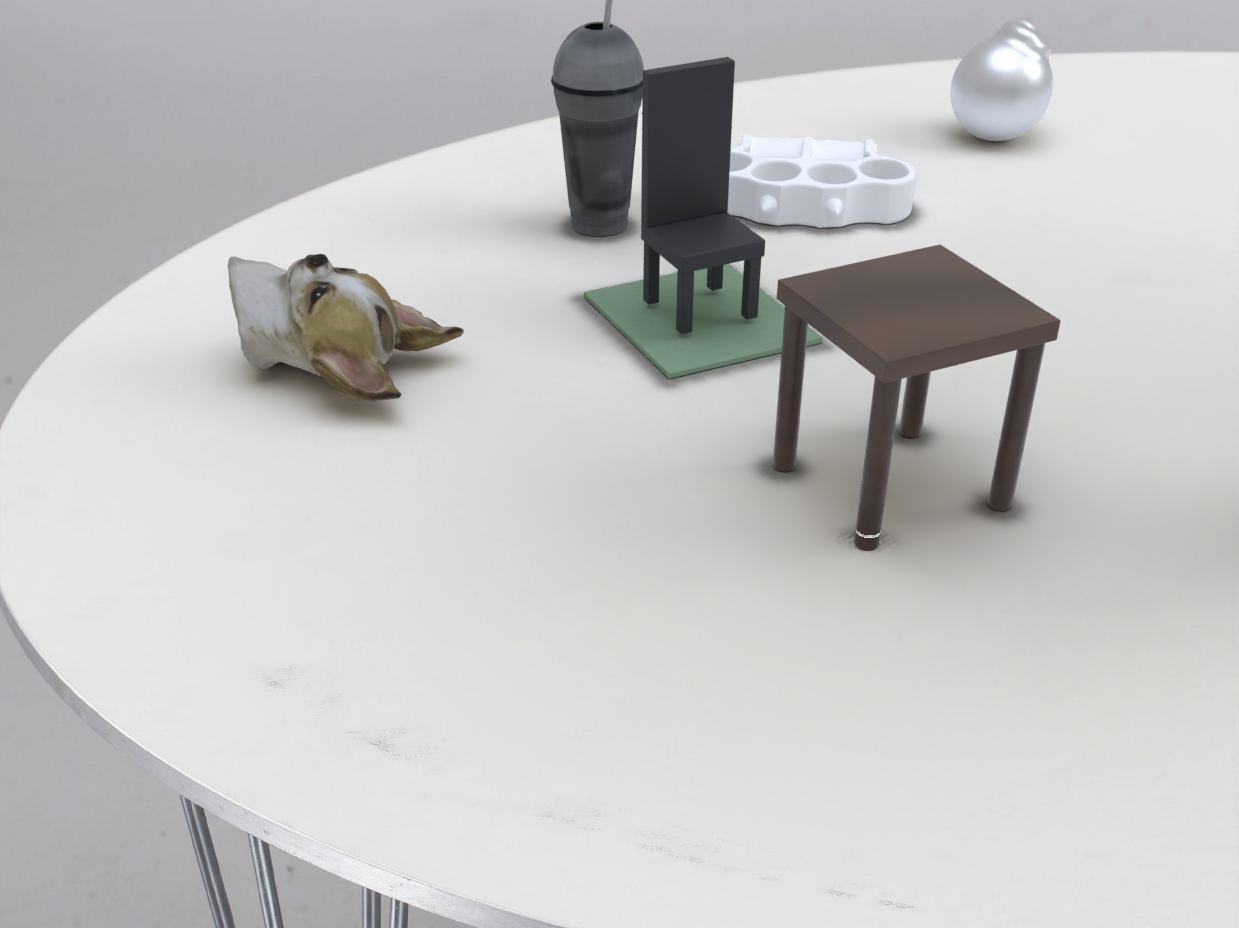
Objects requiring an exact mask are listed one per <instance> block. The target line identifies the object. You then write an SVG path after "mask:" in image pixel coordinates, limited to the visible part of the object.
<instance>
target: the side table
mask: <svg viewBox="0 0 1239 928" xmlns="http://www.w3.org/2000/svg"><path fill="white" fill-rule="evenodd" d="M776 287H777V288H776V300H777V301H779V302H780V303H781V304H782V305H784V308H785V313H784V325H783V338H782V351H781V352H780V354H781V355H780V364H779V365H780V367H779V378H778V391H777V403H776V414H775V415H776V416H775V429H774V440H773V441H774V443H773V452H772V453H773V456H772V468H774V470H776V471H779V472H783V473H784V472H785V473H786V472H791V471H793V470H795V469H796V467H797V466H796V465H797V456H798V455H797V454H798V444H799V443H798V442H799V433H800V421H801V409H802V398H803V387H804V376H805V365H806V355H807V346H806V345H807V334H808V327H809V326H810V327H812V328H813V329H814V330H815V331H817V332H818V333H819V334H821V335H822V336H823V337H824V338H826V339H827V340H829V342H831V344H833V345H835V346H836V347H837V348H839V349H840V350H841V351H842V352H843V353H845V354H846V355H848V356H849V357H850V358H851V359H853V360H854V361H855V362H856V363H858V364H859V365H860V366H862V368H864V369H865V370H867V371H868V372H869V373H870V374H871V375H873V377H874V378H873V379H874V380H873V386H872V387H873V388H872V396H871V404H870V410H869V419H868V428H867V435H866V436H867V437H866V445H865V452H864V459H863V466H862V467H863V468H862V476H861V484H860V491H859V499H858V507H857V515H856V523H855V531H854V539H853V543H854V545H855V547H857V548H858V549H860V550H863V551H873V550H875V549H878V547H880V540H881V533H882V527H883V526H882V525H883V519H884V512H885V504H886V498H887V490H888V482H889V476H890V470H891V469H890V467H891V461H892V454H893V446H894V441H895V440H894V439H895V432H896V424H897V418H898V411H899V403H900V396H901V390H902V383H903V382H902V381H903V380H904V379H905V380H906V381H905V387H904V394H903V401H902V408H901V415H900V421H899V423H900V424H899V427H898V428H899V429H898V432H899V434H900V435H901V436H903V437H905V438H908V439H915V438H918V437H921V435H922V434H923V433H922V432H923V427H924V420H925V413H926V406H927V400H928V394H929V387H930V381H931V374H932V372H934V371H938V370H943V369H947V368H950V367H951V368H952V367H955V366H959V365H962V364H967V363H970V362H975V361H978V360H983V359H987V358H991V357H995V356H1000V355H1002V354H1007V353H1010V352H1015V357H1014V358H1015V359H1014V363H1013V369H1012V373H1011V379H1010V384H1009V389H1008V394H1007V399H1006V405H1005V411H1004V415H1003V419H1002V420H1003V421H1002V424H1001V425H1002V426H1001V432H1000V437H999V441H998V446H997V451H996V457H995V463H994V468H993V473H992V478H991V483H990V489H989V494H988V499H987V505H988V507H989V508H990V509H992V510H994V511H998V512H1005V511H1009V510H1010V509H1012V508H1013V503H1014V500H1015V499H1014V498H1015V493H1016V489H1017V483H1018V479H1019V473H1020V470H1021V465H1022V460H1023V454H1024V450H1025V445H1026V440H1027V436H1028V430H1029V425H1030V420H1031V416H1032V411H1033V406H1034V401H1035V397H1036V391H1037V387H1038V381H1039V376H1040V373H1041V366H1042V362H1043V358H1044V352H1045V349H1046V348H1045V347H1046V343H1051V342H1055V341H1057V340H1058V335H1059V331H1060V327H1061V319H1059V318H1058V317H1056V316H1055V315H1053V314H1051V313H1050V312H1049V311H1047V310H1045V309H1044V308H1043V307H1041V306H1039V305H1038V304H1036V303H1034V302H1032V301H1031V300H1029V299H1028V298H1027V297H1025V296H1023V295H1021V294H1020V293H1018V292H1016V291H1015V290H1014V289H1012V288H1011V287H1009V286H1007V285H1006V284H1004V283H1002V282H1001V281H999V280H998V279H996V278H994V277H993V276H992V275H990V274H988V273H987V272H985V271H984V270H982V269H980V268H979V267H977V266H975V265H974V264H972V263H971V262H969V261H967V260H966V259H964V258H963V257H961V256H960V255H958V254H957V253H955V252H953V250H950V249H948V248H947V247H946V246H944V245H942V244H939V243H938V244H935V245H930V246H927V247H922V248H917V249H912V250H907V251H902V252H899V253H894V254H889V255H885V256H880V257H876V258H871V259H870V258H869V259H866V260H861V261H858V262H853V263H848V264H844V265H839V266H834V267H830V268H825V269H821V270H816V271H812V272H811V271H810V272H807V273H802V274H798V275H792V276H788V277H783V278H779V279H778V280H777V286H776ZM856 530H857V531H858V532H860V533H861V534H864V535H876V534H878V533H880V531H881V533H880V535H879V536H878V537H875V538H864V537H861V536H859V535H858V534H857V533H856Z"/></svg>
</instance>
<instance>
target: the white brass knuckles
mask: <svg viewBox="0 0 1239 928" xmlns="http://www.w3.org/2000/svg"><path fill="white" fill-rule="evenodd" d="M877 151H878V143H877V142H875V140H874V139H865V140H864V141H849V140H835V139H834V140H833V139H814V138H813V137H811V136H804V137H803V138H794V137H793V138H792V137H772V136H771V137H769V136H753V135H752V134H748V133H747V134H746V133H744V134H743V135H740V137H739V143H738V146H736V147H734V148H731V153H730V173H729V194H728V211H727V212H728V213H729V214H730V215H732V216H733V217H740V218H745V219H748V220H751V221H752V222H755V223H757V224H765V225H771V226H778V227H779V226H780V227H781V226H787V225H788V226H789V225H798V226H799V225H800V226H808V227H809V226H810V227H814V228H818V229H826V228H842V227H845V226H848V225H852V224H854V225H855V224H861V223H872V224H873V223H874V224H883V225H889V224H895V223H898V222H902V221H903V220H906V219H907V218H909V216H910V215H911V213H912V210H913V203H914V196H915V188H916V181H917V180H916V179H917V171H916V168H914V166H913V165H912V164H910V163H908V162H906V161H904V160H902V159H898V158H894V157H889V156H883V155H881V154H879V153H877Z"/></svg>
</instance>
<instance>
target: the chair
mask: <svg viewBox="0 0 1239 928" xmlns="http://www.w3.org/2000/svg"><path fill="white" fill-rule="evenodd" d="M735 68H736V60H735V59H733V58H731V57H729V56H723V57H718V58H712V59H706V60H705V59H704V60H699V61H693V62H687V63H681V64H680V63H679V64H674V65H667V66H662V67H655V68H650V69H649V68H648V69H644V70H643V87H642V102H641V193H640V194H641V195H640V197H641V198H640V200H641V201H640V203H641V205H640V207H641V208H640V215H641V216H640V226H641V227H640V239H641V240H642V241H643V274H642V275H643V279H642V280H643V300H644V301H645V302H646V303H647V304H648V305H649V304H654V303H658V302H659V276H661V275H660V272H661V271H660V269H661V268H660V267H661V266H660V265H661V257H662V258H663V259H664V260H666V261H667V262H668V263H669V264H670V265H671V266H672V267H674V268H675V269H676V270H677V272H676V273H677V307H676V330H677V331H678V332H679V333H680V334H686V333H690V332H692V325H693V296H694V271H697V270H702V269H706V268H707V287H708V288H709V289H710V290H712V291H714V290H719V289H722V287H723V267H724V265H725V264H729V265H731V264H734V263H739V262H743V273H742V275H743V288H742V306H741V315H742V316H743V317H744V318H745V319H746V320H748V319H753V318H757V317H758V303H759V288H761V287H760V285H761V272H762V271H761V270H762V258H763V257H765V253H766V240H765V238H763V237H762V236H760V235H759V234H758V233H756V232H755V231H754V230H752V229H751V228H750V227H748V226H747V225H745V224H744V223H743V222H741V221H740V220H739V219H737V218H736V216H733V215H730V214H729V213H728V212H727V211H728V194H729V173H730V153H731V149H732V131H733V130H732V129H733V109H734V106H733V105H734V90H735V71H736V70H735Z"/></svg>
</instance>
